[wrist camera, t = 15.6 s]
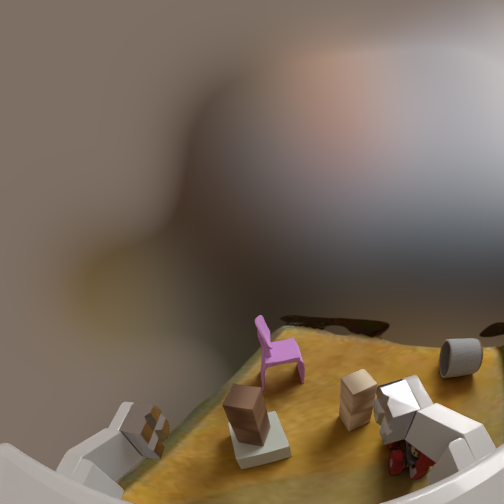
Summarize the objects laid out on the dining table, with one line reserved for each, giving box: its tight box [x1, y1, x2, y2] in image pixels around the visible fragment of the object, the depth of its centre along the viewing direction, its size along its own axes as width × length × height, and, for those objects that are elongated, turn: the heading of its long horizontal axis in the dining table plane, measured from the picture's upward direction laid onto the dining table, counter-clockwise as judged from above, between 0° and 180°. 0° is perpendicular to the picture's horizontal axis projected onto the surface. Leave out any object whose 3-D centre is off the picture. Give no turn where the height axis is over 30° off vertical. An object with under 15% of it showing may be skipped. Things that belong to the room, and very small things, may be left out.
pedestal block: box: [228, 411, 291, 469], centre depth 35 cm, size 8×8×4 cm
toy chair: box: [255, 315, 305, 391], centre depth 49 cm, size 8×9×15 cm
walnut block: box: [223, 384, 271, 447], centre depth 33 cm, size 4×4×10 cm
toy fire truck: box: [387, 439, 436, 480], centre depth 25 cm, size 7×12×10 cm, turn 166°
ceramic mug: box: [439, 338, 483, 378], centre depth 38 cm, size 11×8×8 cm
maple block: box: [339, 369, 377, 431], centre depth 35 cm, size 4×4×10 cm
